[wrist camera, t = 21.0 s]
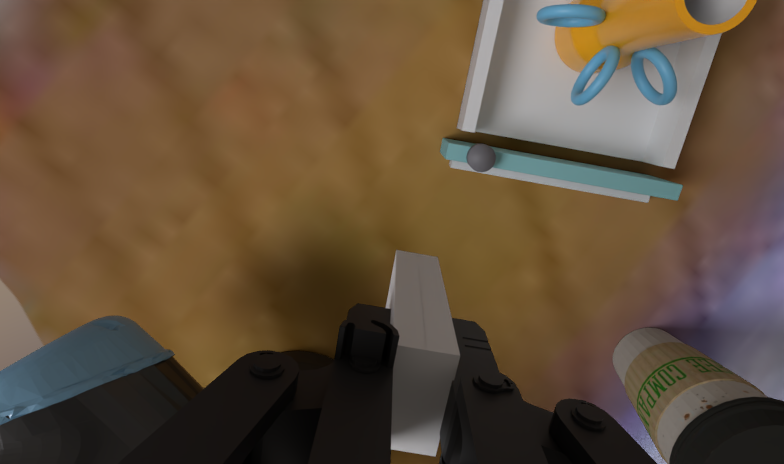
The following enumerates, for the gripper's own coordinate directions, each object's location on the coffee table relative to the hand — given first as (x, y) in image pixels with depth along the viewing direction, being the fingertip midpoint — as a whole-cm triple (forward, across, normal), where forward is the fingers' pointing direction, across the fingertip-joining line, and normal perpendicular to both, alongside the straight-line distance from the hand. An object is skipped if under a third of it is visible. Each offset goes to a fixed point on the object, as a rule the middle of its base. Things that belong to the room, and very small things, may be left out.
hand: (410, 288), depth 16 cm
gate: (+24, +11, +3) cm, 27 cm away
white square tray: (+24, +12, +13) cm, 30 cm away
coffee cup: (+25, +26, -13) cm, 38 cm away
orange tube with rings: (+24, +12, +14) cm, 31 cm away
